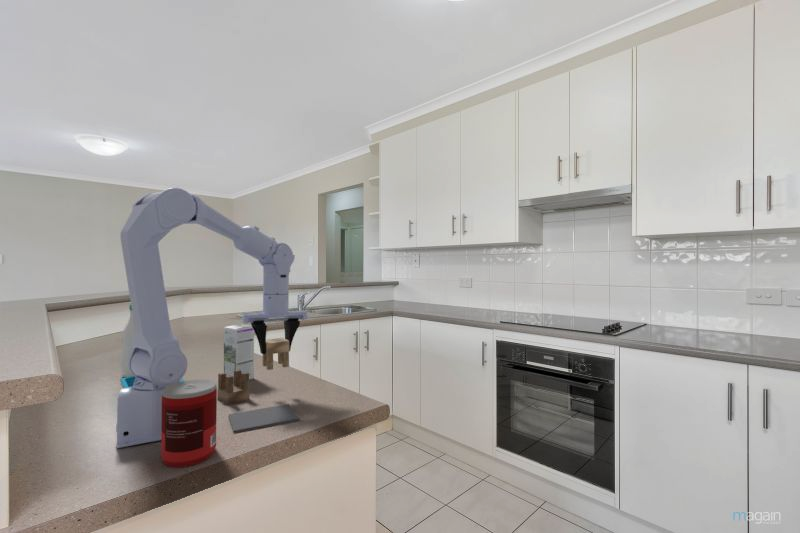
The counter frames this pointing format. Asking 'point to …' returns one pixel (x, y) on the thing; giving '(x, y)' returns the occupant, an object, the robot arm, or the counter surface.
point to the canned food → (188, 422)
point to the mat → (262, 418)
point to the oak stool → (276, 347)
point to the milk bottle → (127, 344)
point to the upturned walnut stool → (233, 387)
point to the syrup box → (239, 350)
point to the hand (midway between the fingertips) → (275, 351)
